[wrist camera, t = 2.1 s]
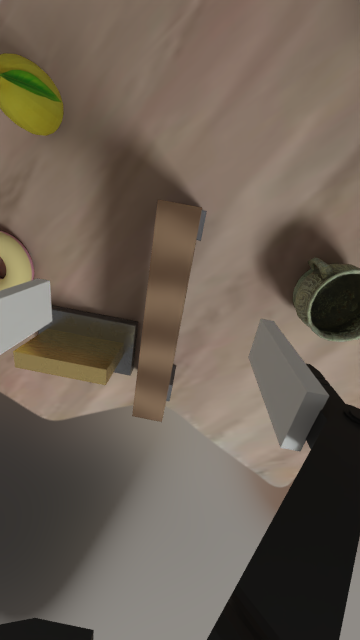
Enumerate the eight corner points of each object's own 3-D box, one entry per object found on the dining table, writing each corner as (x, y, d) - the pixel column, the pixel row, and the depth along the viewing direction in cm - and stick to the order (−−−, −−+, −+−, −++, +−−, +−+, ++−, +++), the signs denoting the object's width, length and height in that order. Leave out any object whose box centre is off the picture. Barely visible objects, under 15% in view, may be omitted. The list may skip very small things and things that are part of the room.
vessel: (270, 274, 31) (286, 285, 25) (337, 234, 29) (371, 236, 23) (308, 341, 34) (330, 364, 28) (371, 310, 32) (409, 329, 26)
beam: (164, 203, 24) (157, 199, 21) (201, 210, 24) (201, 207, 21) (139, 395, 34) (132, 416, 31) (166, 400, 34) (161, 421, 31)
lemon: (13, 109, 26) (-88, 48, 17) (43, 63, 25) (-52, -33, 15) (58, 162, 28) (-12, 131, 19) (89, 121, 26) (28, 66, 17)
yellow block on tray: (42, 303, 36) (-3, 325, 28) (138, 321, 35) (119, 349, 28) (46, 353, 39) (7, 385, 31) (132, 370, 39) (115, 406, 31)
